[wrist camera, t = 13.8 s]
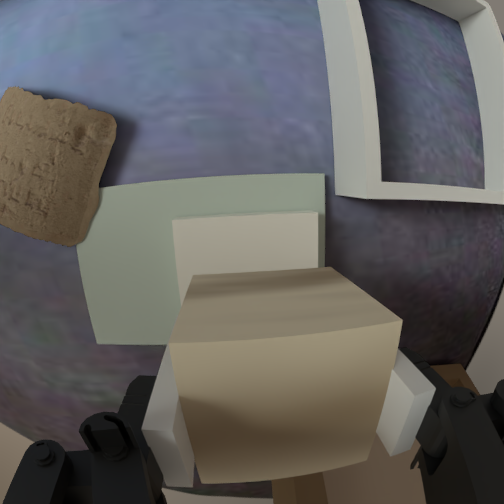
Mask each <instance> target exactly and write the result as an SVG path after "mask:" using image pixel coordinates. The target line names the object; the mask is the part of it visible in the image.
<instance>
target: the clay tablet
mask: <svg viewBox="0 0 504 504" xmlns="http://www.w3.org/2000/svg"><path fill="white" fill-rule="evenodd" d="M8 88H9V89H7V90H6V91H5V93H4V95H3V97H2V99H1V101H0V224H1V225H3V226H6V227H7V228H11V229H12V230H13V231H15V232H20V233H22V234H24V235H26V236H28V237H32V238H34V239H39V240H45V241H47V242H48V241H51V242H53V243H55V244H62V246H63V245H66V246H67V247H71V246H73V245H75V244H77V243H79V242H81V241H83V239H84V237H85V234H86V232H87V228H88V226H89V222H90V220H91V219H92V217H93V215H94V213H95V211H96V209H97V207H98V203H99V195H98V193H99V181H100V178H101V175H102V173H103V170H104V168H105V165H106V162H107V159H108V156H109V153H110V150H111V148H112V145H113V143H114V140H115V137H116V127H117V124H116V121H115V119H114V117H113V116H112V115H111V114H107V113H106V112H102V111H96V110H95V109H91V110H89V109H88V107H87V106H85V105H82V104H81V103H79V102H76V103H74V104H72V103H71V102H69V101H67V100H63V99H56V98H55V99H47V100H45V99H43V98H42V96H41V95H33V94H32V93H31V92H29V91H25V92H24V91H23V88H21V89H19V87H16V86H15V87H12V88H11V87H8Z"/></svg>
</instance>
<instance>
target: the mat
mask: <svg viewBox="0 0 504 504" xmlns="http://www.w3.org/2000/svg"><path fill="white" fill-rule="evenodd" d="M98 195H99V203H98V207H97V209H96V211H95V213H94V215H93V217H92V219H91V220H90V222H89V226H88V228H87V232H86V234H85V237H84V239H83V241H81V242H79V243H77V244H76V248H77V255H78V261H79V267H80V272H81V278H82V283H83V288H84V293H85V297H86V302H87V306H88V311H89V315H90V319H91V323H92V327H93V330H94V334H95V338H96V341H97V344H117V345H167V344H168V341H169V338H170V335H171V332H172V329H173V326H174V323H175V320H176V317H177V315H178V314H179V312H180V309H181V302H180V294H179V286H178V278H177V269H176V260H175V250H174V239H173V228H172V220H173V219H174V218H176V217H188V216H202V215H218V214H235V213H254V212H277V211H304V210H312V211H315V212H318V268H321V267H325V180H324V174H255V175H231V176H214V177H199V178H186V179H174V180H163V181H153V182H144V183H135V184H126V185H118V186H111V187H103V188H99V193H98Z"/></svg>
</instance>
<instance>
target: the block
mask: <svg viewBox="0 0 504 504" xmlns="http://www.w3.org/2000/svg"><path fill="white" fill-rule="evenodd" d="M402 322H403V320H402V319H401V318H399V317H398V316H397V315H395V314H394V313H393V312H391V311H390V310H389V309H387V308H386V307H385V306H383V305H382V304H381V303H379V302H378V301H377V300H375V299H374V298H373V297H371V296H370V295H369V294H367V293H366V292H365V291H363V290H362V289H360V288H359V287H358V286H356V285H355V284H354V283H352V282H351V281H349V280H348V279H347V278H345V277H344V276H343V275H341V274H340V273H338V272H337V271H336V270H334V269H333V268H331V267H321V268H306V269H291V270H275V271H258V272H241V273H222V274H203V275H193V276H192V279H191V282H190V284H189V287H188V290H187V292H186V295H185V298H184V301H183V303H182V306H181V309H180V312H179V314H178V317H177V320H176V323H175V326H174V328H173V331H172V334H171V337H170V340H169V343H168V344H169V350H170V355H171V361H172V366H173V371H174V376H175V381H176V386H177V391H178V395H179V400H180V404H181V408H182V412H183V416H184V420H185V424H186V428H187V432H188V436H189V439H190V443H191V446H192V450H193V454H194V457H195V458H194V459H195V463H196V466H197V470H198V473H199V476H200V480H201V483H238V482H252V481H263V480H273V479H281V478H288V477H295V476H301V475H307V474H312V473H317V472H322V471H327V470H331V469H336V468H340V467H344V466H348V465H352V464H356V463H359V462H363V461H366V460H367V458H368V455H369V453H370V450H371V447H372V444H373V441H374V438H375V435H376V430H377V426H378V423H379V420H380V416H381V413H382V409H383V405H384V401H385V397H386V394H387V389H388V385H389V381H390V377H391V372H392V369H394V364H395V360H396V355H397V350H398V345H399V339H400V334H401V328H402Z"/></svg>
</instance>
